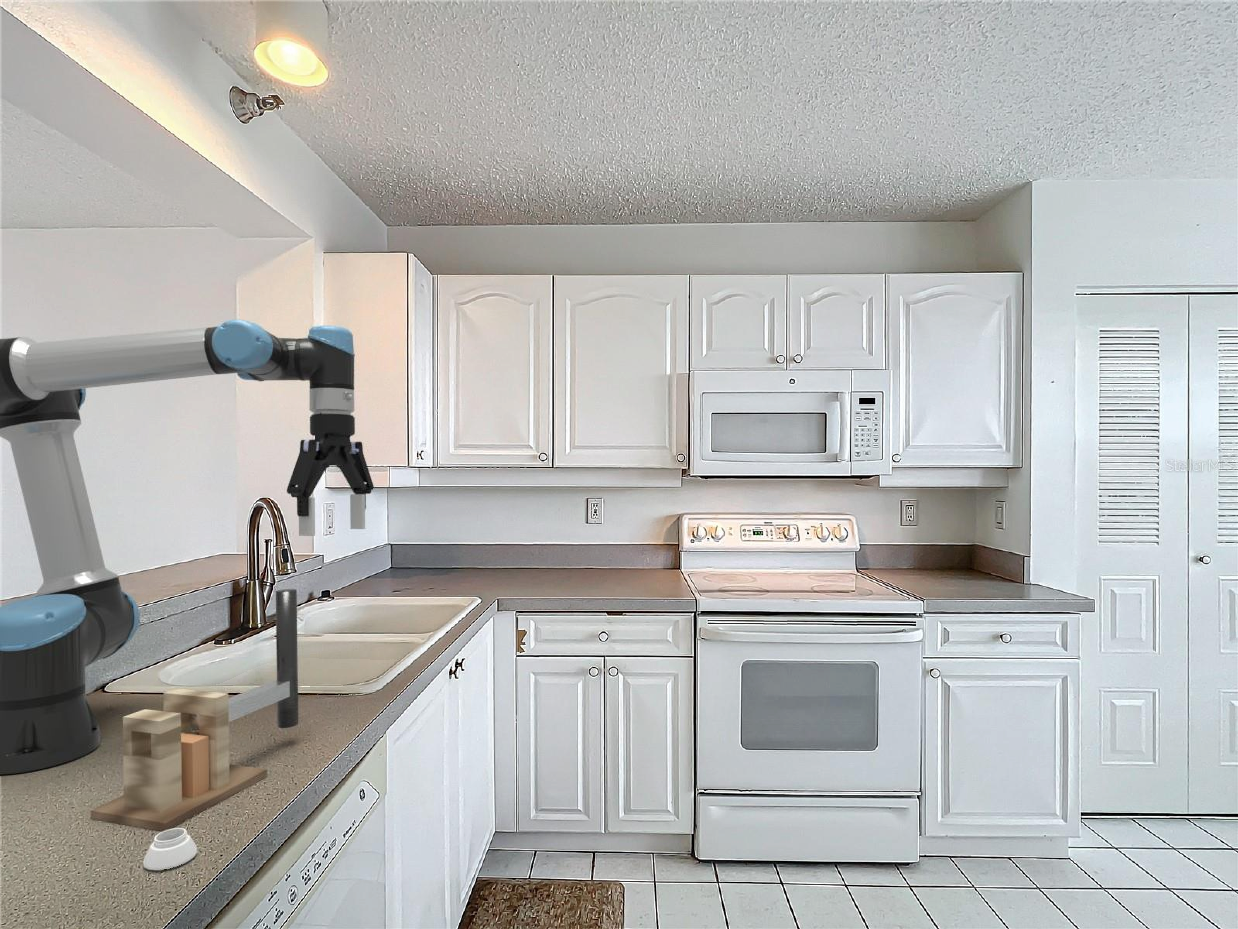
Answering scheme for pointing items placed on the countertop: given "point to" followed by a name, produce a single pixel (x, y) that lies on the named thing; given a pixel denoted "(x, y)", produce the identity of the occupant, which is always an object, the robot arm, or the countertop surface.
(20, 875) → the countertop surface
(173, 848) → the lidless jar
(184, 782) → the spacer
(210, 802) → the bearing stand
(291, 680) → the crank handle
